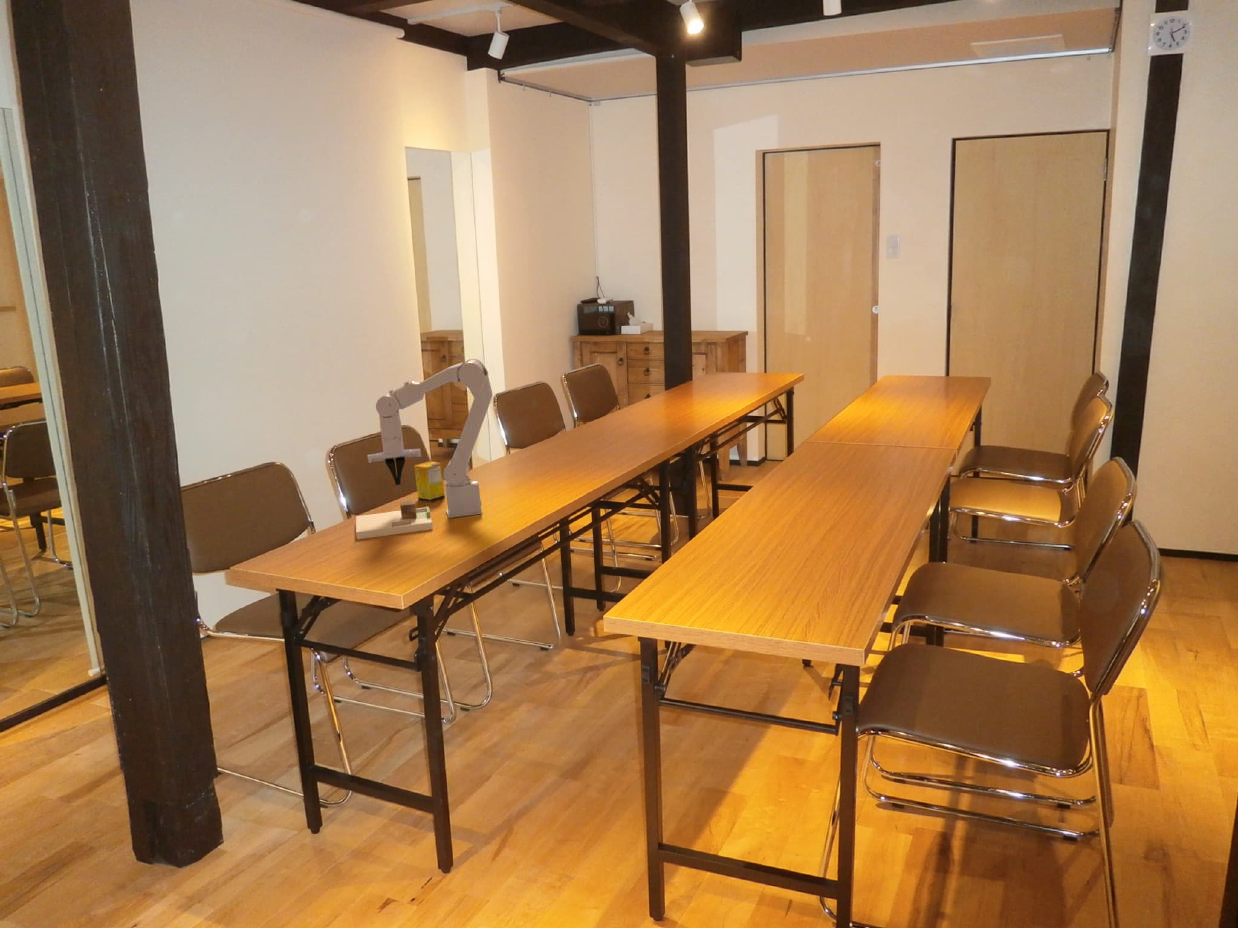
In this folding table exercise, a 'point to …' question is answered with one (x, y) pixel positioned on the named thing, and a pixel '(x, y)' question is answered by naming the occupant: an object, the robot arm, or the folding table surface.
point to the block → (408, 510)
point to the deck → (392, 523)
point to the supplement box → (429, 481)
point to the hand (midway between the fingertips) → (397, 484)
